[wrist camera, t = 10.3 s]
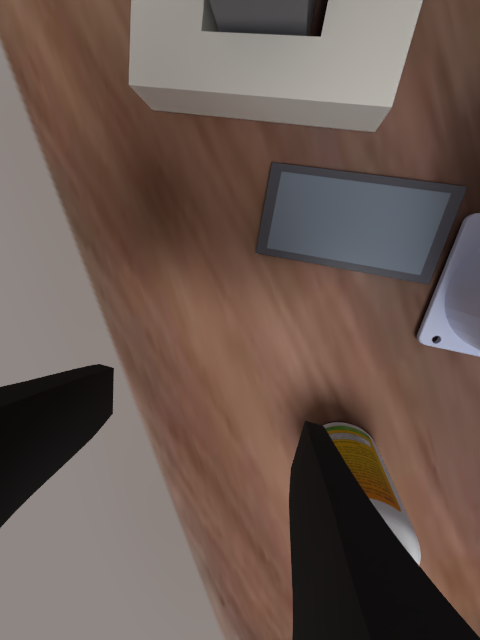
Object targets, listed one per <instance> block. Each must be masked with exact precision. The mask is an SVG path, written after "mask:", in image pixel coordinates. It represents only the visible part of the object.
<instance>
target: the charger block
mask: <svg viewBox="0 0 480 640" xmlns="http://www.w3.org/2000/svg"><path fill="white" fill-rule="evenodd" d="M209 1H210V4H211V7H212V10H213V14H214V17H215V20H216V23H217V26H218V29H219V32H229V33H251V34H273V35H294V36H310V31H311V26H312V21H313V15H314V10H315V5H316V0H209Z"/></svg>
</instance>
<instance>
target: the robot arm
mask: <svg viewBox="0 0 480 640" xmlns="http://www.w3.org/2000/svg"><path fill="white" fill-rule="evenodd" d="M434 336H438V339H437V340H436V341H432V338H433V337H434ZM417 340H418V341H419V342H420V343H422V344H424V345H428V346H433V347H437V348H442V349H447V350H451V351H456V352H461V353H465V354H470V355H475V356H479V357H480V213H475V214H471V215H469V216H467V217H466V218H465V219H464V221H463V222H462V225H461V227H460V230H459V232H458V235H457V237H456V240H455V242H454V245H453V247H452V250H451V252H450V254H449V257H448V259H447V262H446V264H445V267H444V269H443V272H442V274H441V277H440V279H439V282H438V284H437V287H436V289H435V292H434V294H433V296H432V299H431V301H430V304H429V306H428V309H427V311H426V314H425V316H424V319H423V321H422V324H421V326H420V329H419V331H418V334H417ZM113 373H114V368H112V367H108V366H104V365H101V364H98V365H91V366H86V367H82V368H77V369H73V370H70V371H65V372H61V373H57V374H53V375H49V376H45V377H41V378H37V379H33V380H29V381H25V382H21V383H16V384H12V385H7V386H3V387H0V527H1V526H2V525H3V524H4V523H5V522H6V521H7V520H8V519H9V518H10V517H11V515H12V514H13V513H14V512H15V511H16V510H17V509H18V508H19V507H20V506H21V505H22V504H23V503H24V502H25V501H26V500H27V499H28V498H29V497H30V496H31V495H32V494H33V493H34V492H35V491H36V490H37V489H39V488H40V487H41V486H42V485H43V484H44V483H45V482H46V481H47V480H48V479H49V478H50V477H51V476H53V475H54V474H55V473H56V472H57V471H58V470H59V469H60V468H61V467H62V466H63V465H64V464H65V463H66V462H67V461H68V460H70V459H71V458H72V457H73V456H74V455H75V454H76V453H77V452H78V451H79V450H80V449H81V448H82V447H83V446H84V445H85V444H86V443H87V442H88V441H89V440H90V439H91V438H93V436H94V435H95V434H96V433H97V432H98V431H99V429H100V428H101V427H102V426H103V425H104V423H105V422H106V421H107V420H108V419H109V417H110V416H111V415H112V414H113ZM289 515H290V541H291V564H292V588H293V640H480V638H479V637H478V635H477V634H476V633H475V632H474V631H473V630H472V629H471V627H470V626H469V625H468V624H467V623H466V622H465V620H464V619H463V618H462V617H461V616H460V615H459V614H458V612H457V611H456V610H455V609H454V608H453V607H452V605H451V604H450V603H449V602H448V601H447V599H446V598H445V597H444V596H443V595H442V593H441V592H440V591H439V590H438V589H437V587H436V586H435V585H434V584H433V583H432V581H431V580H430V579H429V578H428V576H427V575H426V574H425V572H424V571H423V570H422V569H421V567H420V566H419V565H418V564H417V562H416V561H415V560H414V559H413V557H412V556H411V555H410V554H409V552H408V551H407V550H406V549H405V547H404V546H403V545H402V543H401V542H400V541H399V539H398V538H397V537H396V535H395V534H394V533H393V531H392V530H391V529H390V527H389V526H388V525H387V523H386V522H385V520H384V519H383V518H382V516H381V515H380V513H379V512H378V511H377V509H376V508H375V506H374V505H373V504H372V502H371V501H370V499H369V498H368V496H367V495H366V493H365V492H364V490H363V489H362V487H361V486H360V484H359V483H358V481H357V480H356V478H355V477H354V475H353V473H352V472H351V470H350V469H349V467H348V465H347V464H346V462H345V461H344V459H343V457H342V456H341V454H340V452H339V451H338V449H337V447H336V446H335V444H334V442H333V441H332V439H331V437H330V436H329V434H328V432H327V431H326V429H325V427H324V426H322V425H318V424H315V423H311V422H307V421H305V423H304V426H303V430H302V433H301V436H300V440H299V443H298V447H297V450H296V453H295V457H294V460H293V463H292V467H291V477H290V493H289Z"/></svg>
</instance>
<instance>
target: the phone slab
mask: <svg viewBox="0 0 480 640" xmlns="http://www.w3.org/2000/svg"><path fill="white" fill-rule="evenodd" d="M466 189H467V187H466V186H458V185H450V184H442V183H434V182H426V181H418V180H410V179H402V178H394V177H386V176H378V175H370V174H362V173H354V172H346V171H338V170H330V169H322V168H314V167H305V166H297V165H289V164H281V163H273V162H272V165H271V171H270V176H269V182H268V187H267V193H266V198H265V204H264V209H263V214H262V220H261V225H260V231H259V236H258V242H257V247H256V253H258V254H264V255H269V256H275V257H280V258H286V259H291V260H297V261H302V262H308V263H313V264H319V265H325V266H330V267H336V268H341V269H347V270H352V271H358V272H363V273H369V274H374V275H380V276H385V277H391V278H396V279H402V280H407V281H413V282H418V283H424V284H429V283H430V281H431V278H432V276H433V273H434V271H435V268H436V266H437V263H438V260H439V258H440V255H441V253H442V250H443V248H444V245H445V243H446V240H447V237H448V235H449V232H450V230H451V227H452V225H453V222H454V220H455V217H456V215H457V212H458V209H459V207H460V204H461V202H462V199H463V197H464V194H465V192H466Z"/></svg>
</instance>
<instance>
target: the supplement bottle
mask: <svg viewBox="0 0 480 640" xmlns="http://www.w3.org/2000/svg"><path fill="white" fill-rule="evenodd" d="M322 426H324V427H325V429H326V431H327V432H328V434H329V436H330V437H331V439H332V441H333V442H334V444H335V446H336V447H337V449H338V451H339V452H340V454H341V456H342V457H343V459H344V461H345V462H346V464H347V465H348V467H349V469H350V470H351V472H352V473H353V475H354V477H355V478H356V480H357V481H358V483H359V484H360V486H361V487H362V489H363V490H364V492H365V493H366V495H367V496H368V498H369V499H370V501H371V502H372V504H373V505H374V506H375V508H376V509H377V511H378V512H379V513H380V515H381V516H382V518H383V519H384V520H385V522H386V523H387V525H388V526H389V527H390V529H391V530H392V531H393V533H394V534H395V535H396V537H397V538H398V539H399V541H400V542H401V543H402V545H403V546H404V547H405V549H406V550H407V551H408V552H409V554H410V555H411V556H412V557H413V559H414V560H415V561H416V562H417V564H418V565H420V559H421V552H420V546H419V542H418V539H417V536H416V534H415V531H414V529H413V526H412V524H411V521H410V519H409V517H408V515H407V513H406V510H405V508H404V506H403V504H402V501H401V499H400V497H399V495H398V492H397V490H396V488H395V486H394V483H393V481H392V479H391V477H390V474H389V472H388V470H387V468H386V465H385V463H384V461H383V459H382V456H381V454H380V452H379V450H378V448H377V446H376V444H375V442H374V440H373V439H372V438H371V436H370V435H369V434H368V433H366V432H365V431H364V430H362V429H361V428H359V427H357V426H355V425H352V424H348V423H343V422H333V423H328V424H325V425H322Z"/></svg>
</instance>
